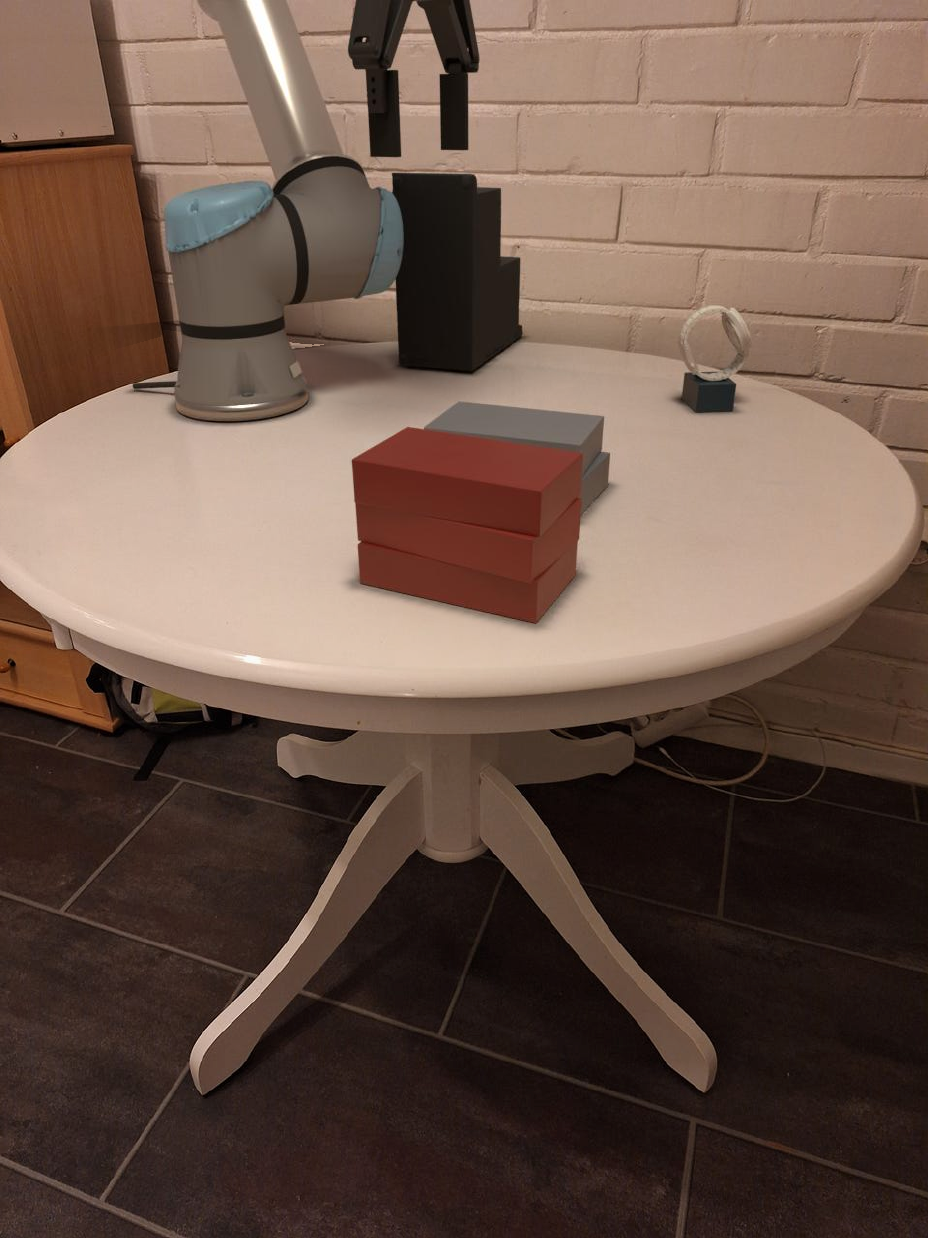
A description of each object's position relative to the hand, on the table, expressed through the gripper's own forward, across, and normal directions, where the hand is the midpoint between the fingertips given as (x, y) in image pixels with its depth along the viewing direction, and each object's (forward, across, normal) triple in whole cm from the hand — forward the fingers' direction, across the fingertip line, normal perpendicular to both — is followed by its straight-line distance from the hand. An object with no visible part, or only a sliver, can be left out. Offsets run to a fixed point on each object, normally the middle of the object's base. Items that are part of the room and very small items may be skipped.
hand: (422, 153), depth 85 cm
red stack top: (+24, -30, -19) cm, 43 cm away
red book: (+20, -30, -19) cm, 41 cm away
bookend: (+27, +34, +12) cm, 45 cm away
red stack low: (+27, -30, -19) cm, 44 cm away
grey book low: (+27, -12, -15) cm, 33 cm away
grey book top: (+24, -12, -15) cm, 30 cm away
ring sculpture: (+27, +22, -25) cm, 43 cm away
